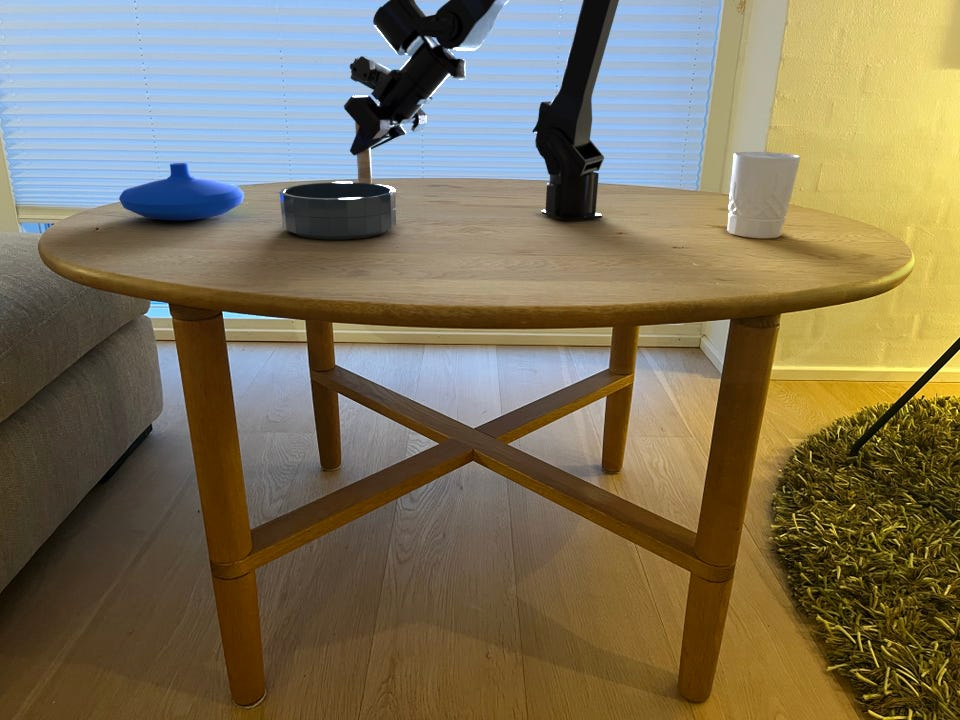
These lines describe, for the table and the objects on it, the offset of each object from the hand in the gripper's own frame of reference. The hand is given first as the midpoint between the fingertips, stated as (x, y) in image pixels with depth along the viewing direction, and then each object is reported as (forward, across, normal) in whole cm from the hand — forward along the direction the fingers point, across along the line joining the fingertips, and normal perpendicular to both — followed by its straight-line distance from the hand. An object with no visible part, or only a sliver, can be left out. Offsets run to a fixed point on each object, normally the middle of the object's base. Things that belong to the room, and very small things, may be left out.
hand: (355, 152), depth 111 cm
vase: (+15, +25, -4) cm, 29 cm away
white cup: (-38, +6, +48) cm, 62 cm away
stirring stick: (+4, 0, +6) cm, 7 cm away
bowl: (-2, +24, +12) cm, 27 cm away
